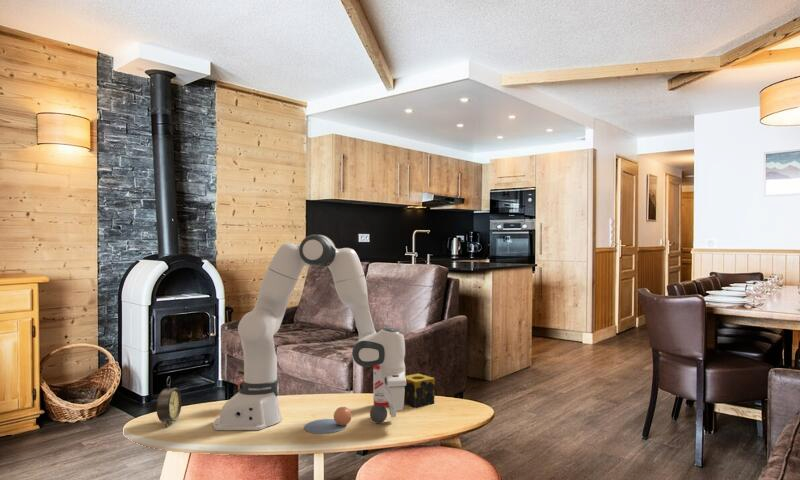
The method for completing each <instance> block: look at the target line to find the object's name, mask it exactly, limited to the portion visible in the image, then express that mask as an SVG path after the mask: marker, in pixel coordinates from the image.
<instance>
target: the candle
mask: <svg viewBox="0 0 800 480" xmlns="http://www.w3.org/2000/svg"><path fill="white" fill-rule="evenodd" d="M405 378H406V386H404V389H405V392H404V405H407V406H409V407H410V408H411V407H412V408H413V409H415V408H416V409H417V408H421V407H425V406H430V405H434V404H435V378H434V377H431V376H429V375H425V374H421V373H414V374H409V375H408V374H407V375H405ZM429 404H430V405H429Z"/></svg>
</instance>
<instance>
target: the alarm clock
mask: <svg viewBox="0 0 800 480" xmlns="http://www.w3.org/2000/svg"><path fill="white" fill-rule="evenodd" d="M168 380H169V381H168ZM168 382H169V384H168ZM171 382H172V381H171V376H168V377H167V378H166V386H167V388H164V389H162V391H160V393H159V395H158V396H157V401H156V416H157V418H158V419H159V421H160V422H161V424H163V423H165V427H164V428H166V429H168V425H169V423H170V422H176V421H177V420H178V419H179V417H180V414H181V412H182V411H181V410H182V394H181V391H180V389H179V388H177V387H173V388H171Z"/></svg>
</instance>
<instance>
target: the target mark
mask: <svg viewBox="0 0 800 480" xmlns="http://www.w3.org/2000/svg"><path fill="white" fill-rule="evenodd" d="M345 428H347V424H346V425H343V426H341V425H338V424H337V423H336V422H335V420H334V418H321V419H317V420H316V419H315V420H313V421H309V422H307V423H306V424H305V425H304V430H305V431H306V432H307V433H308V432H309V433H312V434H317V435H318V434H322V435H323V434H324V433H326V434H333V433H337V432H340V431H344V430H345Z"/></svg>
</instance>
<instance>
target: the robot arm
mask: <svg viewBox="0 0 800 480" xmlns="http://www.w3.org/2000/svg"><path fill="white" fill-rule="evenodd" d="M336 246H337V245H336V244H335V242H334V241H333V240H332V239H331V238H330V237H328V236H326V235H323V234H310V235H307V236H306V237H304V239H303V240H302V241H301V242H300V245H299V244H296V243H292V242H286V243H283V244H281V245H280V246H279V248H278V249H277V250H276V252H275V253H274V255H273V257H272V258H271V261H270V263H269V265H268V267H267V270H266V272H265V274H264V276H263V278H262V281H261V284H260V286H259V287H258V295H257V298H256V302H255V304H254V307H253V309H252V310H251V311H249V312H247V313H245V314H244V315H243V316H242V317H241V319H240V320H239V323H238V325H237V332H238V335H239V337H240V342H241V348H242V354H243V367H244V374H243V378H244V379H239V380H238V382H237V393H235V394H234V395H233V396H232V397H230V399H228V400H227V401H225V403H224V404H223V406H222V407H221V410H220V414H219V415H220V416H218V417H216V418H215V420H214V421H213V424H212V428H213V430H215V429H216V430H215V431H259V430H262V429H265V428H266V427H270V426H273V425H277V424H278V423H280V422H281V421H282V415H281V412H280V406H279V397H278V395H279V386H280V385H279V379H278V356H277V353H276V347H275V340H274V335H275V334H277V332H278V331H279V330H280V327H281V325H282V323H283V319H284V316H285V314H286V309H287V308H288V307H287V306H288V303H289V301H290V299H291V295H292V293H293V292H294V289H295V286H296V284H297V282H298V280H299V277H300V275H301V273H302V271H303V269H304V268H305V267H306V266H307V265H309V266H312V267H327V268H328V269H329V271H330V273H331V277H332V280H333V283H334V288H335V291H336V294H337V297H338V299H339V300H340V302H341V303H342V304H343V305H345V306H346V307H347V308H349V310H350V311H351V313H352V315H353V319H354V322H355V325H356V329H357V332H358V340H357V342H356V343H355V345H354V346H353V348H352V359H353V360H354V362H355V364H357V365H358V366H360V367H364V368H366V367H367V368H370V367H374V366H375V365H380V381H381V382H383V393H384V396H385V398H386V400H387V401H388V403H389V405H388V409H389V415H390V417H391V418H397V411H403V410H404V409H403V408H404V405H405V404H404V392H405V389H404V386H406V378H405V376H406V364H405V357H406V343H405V342H406V341H405V336H404V334H403V332H402V331H401V330H399V329H396V328H392V327H384V328H382V329H381V330H379V331H377V330H376V328H375V323H374V321H373V320H374V319H373V317H372V313H371V310H370V305H369V296H368V295H369V294H368V286H367V281H366V280H367V279H366V275H365V272H364V269H363V266H362V263H361V261H360V257H359V255H358V254H357V252H356V251H355V249H353V248H350V247H343V248H337V247H336Z"/></svg>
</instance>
